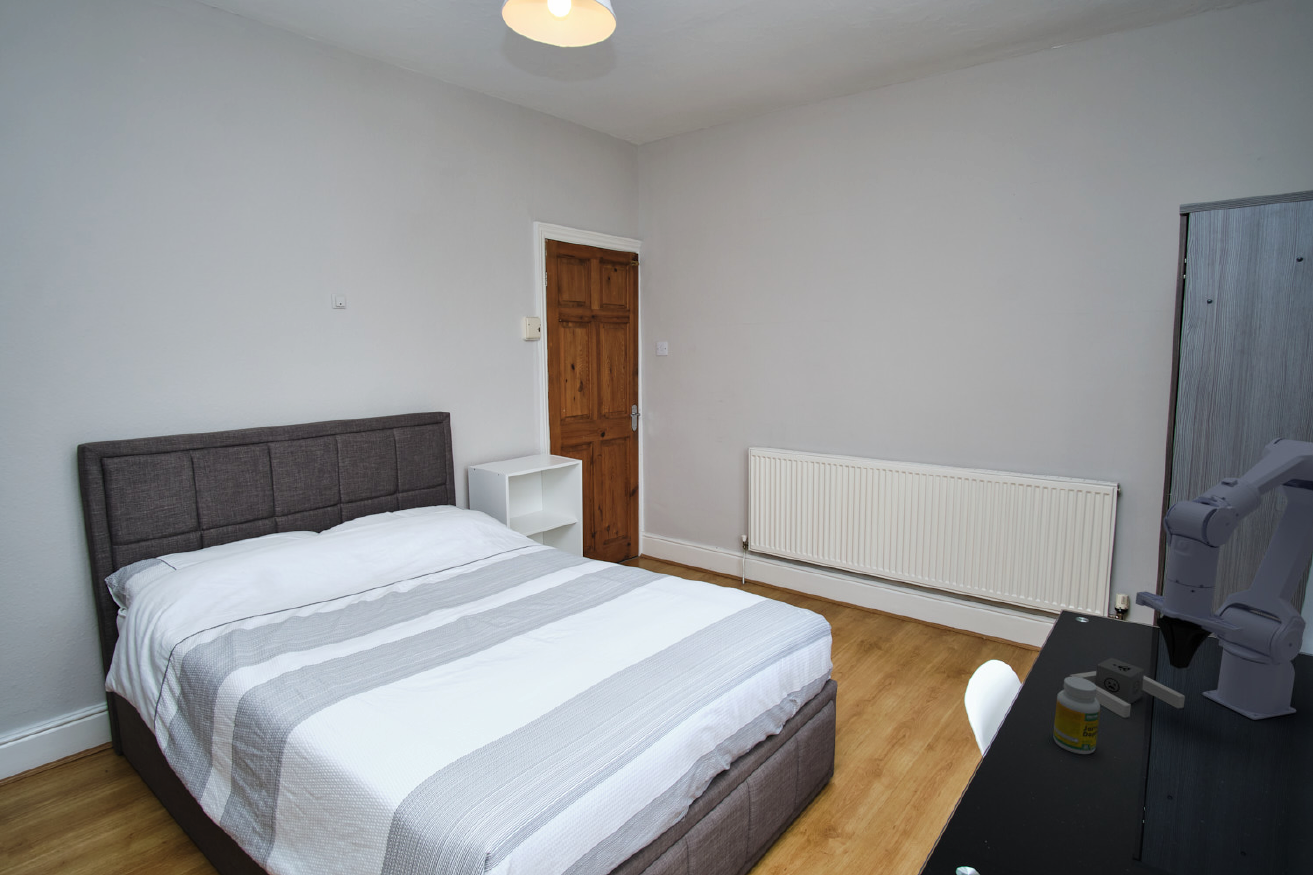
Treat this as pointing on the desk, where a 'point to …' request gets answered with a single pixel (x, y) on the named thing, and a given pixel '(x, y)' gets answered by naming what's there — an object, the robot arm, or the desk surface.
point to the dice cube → (1120, 679)
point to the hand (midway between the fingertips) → (1179, 665)
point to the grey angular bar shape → (1148, 686)
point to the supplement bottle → (1077, 716)
